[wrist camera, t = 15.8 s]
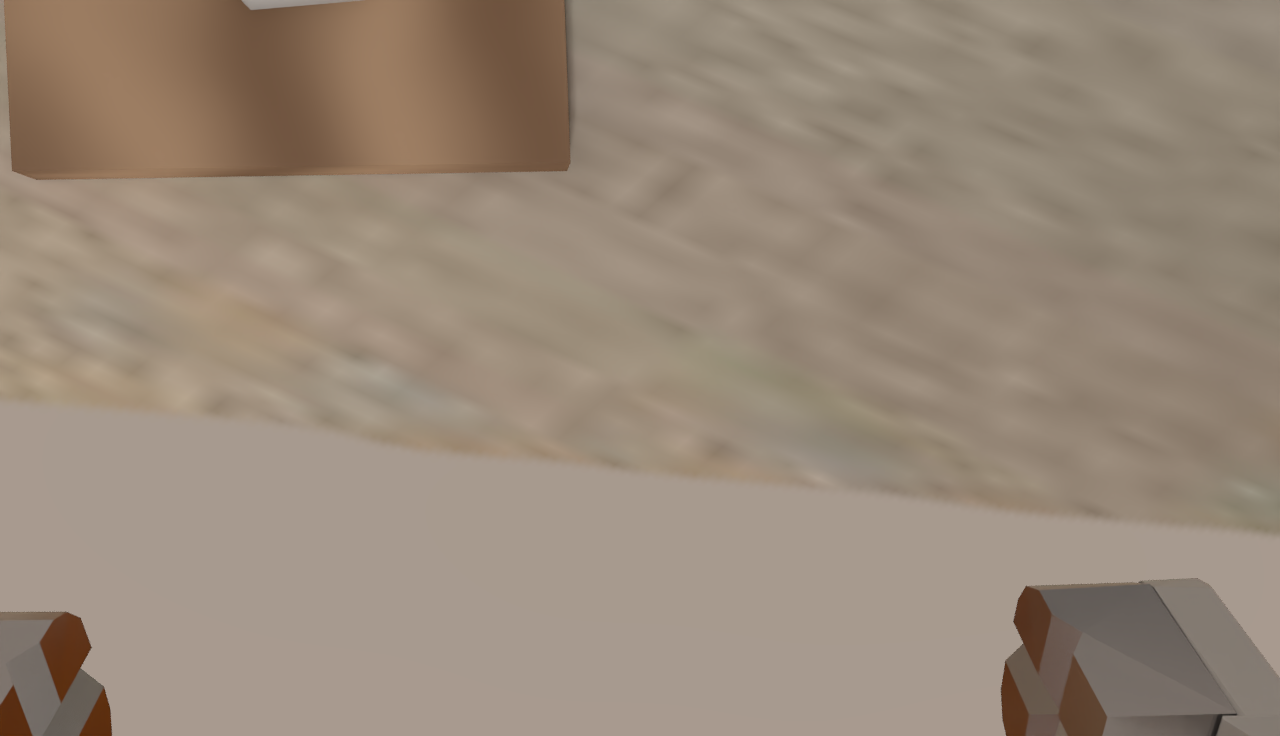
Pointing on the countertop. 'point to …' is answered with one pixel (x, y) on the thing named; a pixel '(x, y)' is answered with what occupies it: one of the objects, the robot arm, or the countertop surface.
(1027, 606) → the robot arm
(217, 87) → the walnut board
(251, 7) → the flask
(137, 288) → the countertop surface
